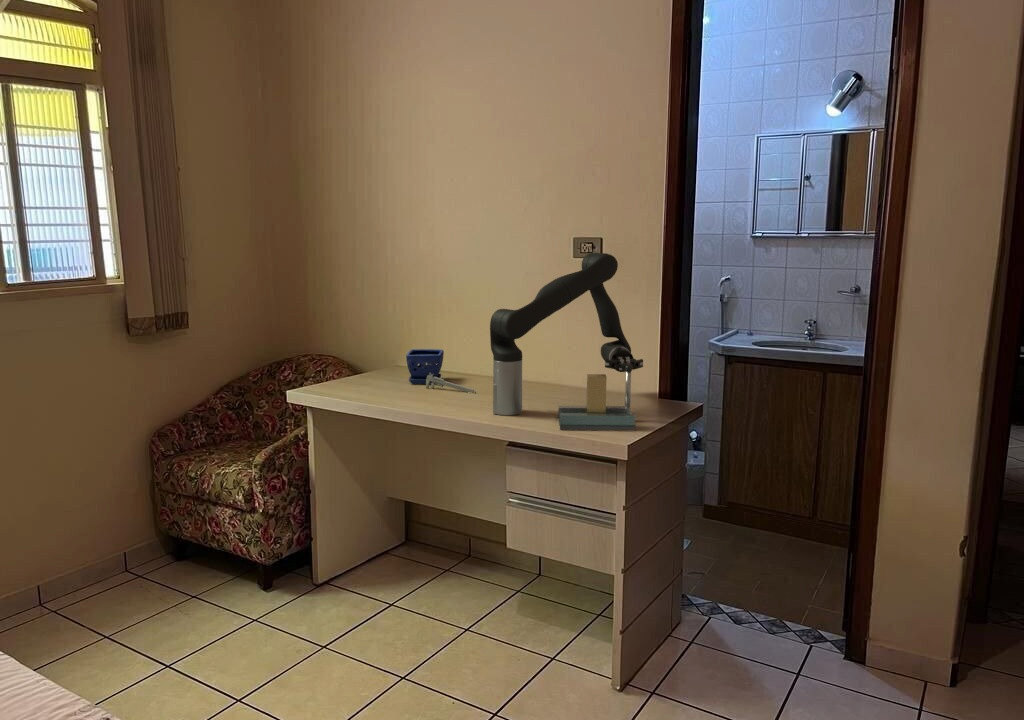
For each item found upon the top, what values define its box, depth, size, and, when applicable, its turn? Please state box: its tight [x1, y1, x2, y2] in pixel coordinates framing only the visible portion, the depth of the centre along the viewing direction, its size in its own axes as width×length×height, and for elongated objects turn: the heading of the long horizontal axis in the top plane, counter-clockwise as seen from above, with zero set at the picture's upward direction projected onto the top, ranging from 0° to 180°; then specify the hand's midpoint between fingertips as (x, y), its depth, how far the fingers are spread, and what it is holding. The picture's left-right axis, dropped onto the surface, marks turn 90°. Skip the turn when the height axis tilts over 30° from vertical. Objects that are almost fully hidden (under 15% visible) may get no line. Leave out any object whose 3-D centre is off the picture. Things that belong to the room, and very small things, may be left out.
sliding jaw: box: [557, 365, 633, 417], centre depth 243 cm, size 4×22×16 cm, turn 89°
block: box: [585, 373, 608, 413], centre depth 237 cm, size 4×6×14 cm
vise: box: [557, 413, 636, 431], centre depth 239 cm, size 16×22×4 cm
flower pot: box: [405, 348, 445, 385], centre depth 303 cm, size 13×13×12 cm
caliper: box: [425, 373, 477, 394], centre depth 287 cm, size 20×1×6 cm, turn 66°
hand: (627, 368), depth 247 cm, fingers closed
